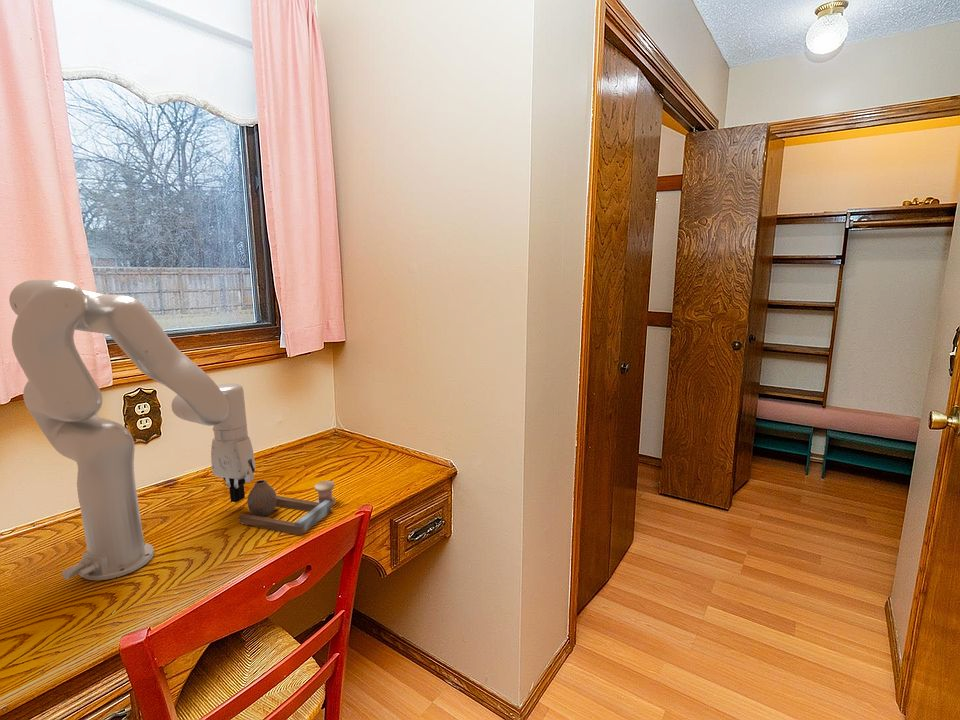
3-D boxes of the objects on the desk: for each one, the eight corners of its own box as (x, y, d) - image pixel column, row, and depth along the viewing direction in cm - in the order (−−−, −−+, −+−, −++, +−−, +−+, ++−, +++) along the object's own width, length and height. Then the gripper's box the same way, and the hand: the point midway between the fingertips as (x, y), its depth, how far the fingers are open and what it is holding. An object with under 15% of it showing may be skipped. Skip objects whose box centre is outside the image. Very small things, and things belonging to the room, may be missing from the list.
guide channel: (300, 535, 115) (300, 523, 115) (239, 523, 121) (238, 512, 120) (331, 511, 127) (330, 500, 126) (273, 502, 132) (272, 491, 131)
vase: (242, 517, 124) (239, 485, 122) (263, 505, 130) (260, 474, 129) (264, 522, 121) (261, 489, 120) (283, 509, 128) (281, 478, 126)
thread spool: (328, 509, 128) (327, 490, 127) (312, 506, 129) (310, 487, 128) (339, 500, 133) (338, 481, 132) (323, 498, 134) (321, 479, 133)
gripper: (195, 434, 123) (203, 502, 126) (243, 440, 119) (250, 510, 122) (219, 425, 130) (226, 490, 133) (265, 430, 126) (271, 497, 129)
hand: (238, 499), depth 128 cm, fingers closed
